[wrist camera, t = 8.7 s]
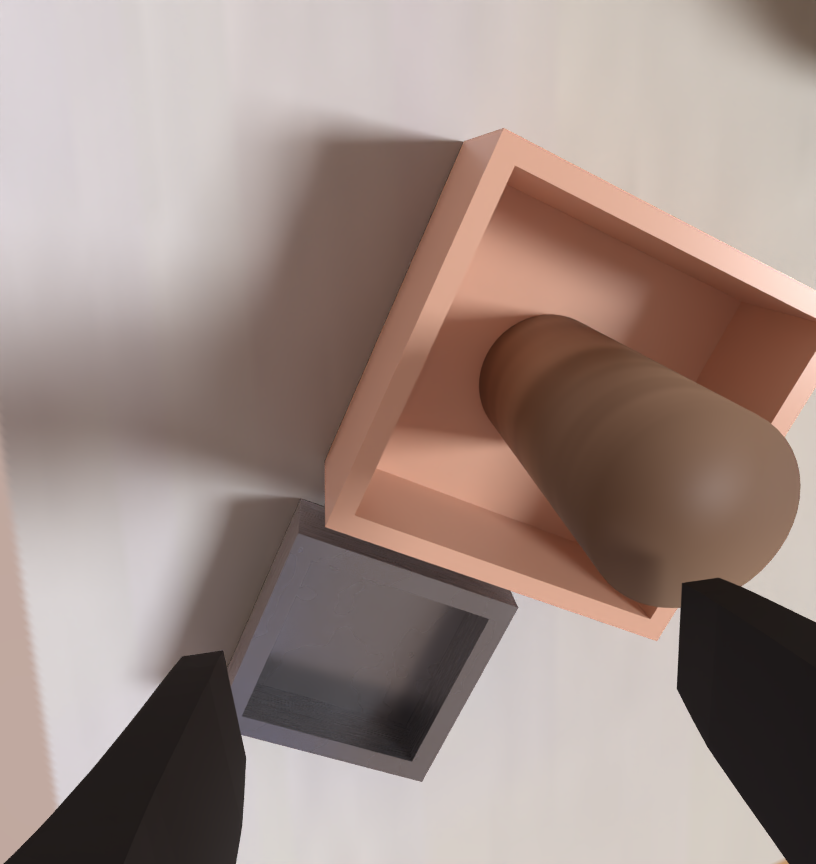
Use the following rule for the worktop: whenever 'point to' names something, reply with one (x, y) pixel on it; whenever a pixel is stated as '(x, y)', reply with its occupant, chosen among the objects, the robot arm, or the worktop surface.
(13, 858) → the robot arm
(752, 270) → the terracotta bin
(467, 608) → the metal socket
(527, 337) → the walnut strut
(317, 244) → the worktop surface
